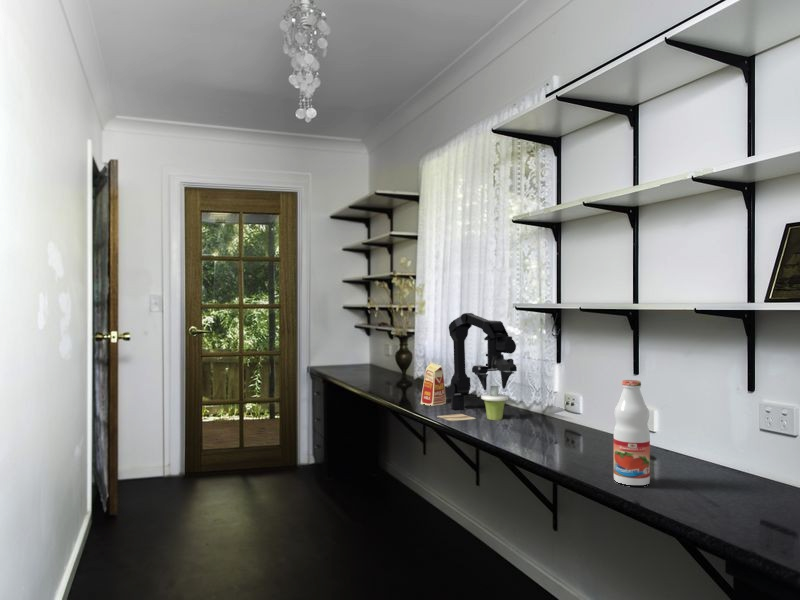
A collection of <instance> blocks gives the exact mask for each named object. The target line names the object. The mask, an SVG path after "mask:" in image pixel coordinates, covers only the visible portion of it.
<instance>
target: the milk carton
mask: <svg viewBox="0 0 800 600" xmlns="http://www.w3.org/2000/svg"><path fill="white" fill-rule="evenodd" d="M442 367H443V365H440V364H437V363H435V362H433V361H429V364H428V366H427V367H426V368H425V373H424V379H423V385H422V391H421V398H420V405H423V404H425V406H430V405H431V406H430V407H434V406H435V407H436V406H443V405H445V404H447V397H446V396H447V395H446V386H445V385H446V384H445V378H444V377H445V376H444V370H443V368H442Z"/></svg>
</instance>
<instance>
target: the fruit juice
mask: <svg viewBox="0 0 800 600" xmlns="http://www.w3.org/2000/svg"><path fill="white" fill-rule="evenodd" d="M621 387H622V391H621V394H620V398H619V400H618V401H617V404H616V405H615V407H614V409H613V410H614V411H613V414H614V415H613V416H614V420H615V424H614V427H613V481H614V480H615V481H616V482H618V483H622V484H626V485H646V484H650V482H651V481H650V480H651V435H650V433H651V432H650V429H649V426H648V424H649V423H648V422H649V420H650V411H649V408H648V406H647V405H646V403H645V400H644V398H643V394H642V392H641V388H642V382H641V381H640V380H634V379H624V380H622V381H621ZM615 481H614V482H615ZM616 482H615V483H616ZM618 483H617V484H618Z"/></svg>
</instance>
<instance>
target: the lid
mask: <svg viewBox="0 0 800 600" xmlns="http://www.w3.org/2000/svg"><path fill="white" fill-rule="evenodd" d="M480 400H483V401H484V400H486V401H505V400H506V401H508V400H509V396H508V395H507V394H504V393H503V394H502V393H499V386H498V385H490V393H484V394H481V395H480ZM506 401H505V402H506Z"/></svg>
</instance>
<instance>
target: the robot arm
mask: <svg viewBox="0 0 800 600" xmlns="http://www.w3.org/2000/svg"><path fill="white" fill-rule="evenodd" d="M472 326H474V327H476V328H479V329H481V330H482V332H483V333H485V335H486V336H485V337H484V341H487V353H485V357H487V363H485V365H481V364H477V365H473V366H472V368H471V373H474V375H476V376H477V378H478V379H479V382H480V384H481V386H482V388H483V390H484V391H487V388H488V387H487V386H488V385H487V379H488V378H487V377H488V376H489V374H488V372H495V371H496V372H497V371H499V372H500V379H501V380H500V381H501V386H502V387H501V388H502V389H503V390H505V389H506V386H507V384H508V381H509V378H510V377H511V376H512V374H514V373H515V372H517V371H518V369H517V365H516V364H515V363H514V359H513V358H507V359H505V358H504V354H509V355H510V354H513V353H514V352H515V351H516V350H517V349H516V348H517V344H516V342H515V340H514V339H513V336H511V335H510V336H509V333H508V331H507V329H506V327H505V326H504V322H503V321H499V320H490V319H487V318H484V317H483V316H482V317H481V316H479V315H476V314H474V313H473V312H466V313H465V312H464V313H462V314H461V315H459V317H456V318H455V319H454V320H452V321H450V324H448V332H449V336H450V338H451V340H452V341H453V370H454V371H453V372H454V374H453V375H452V377H451V378H450V385H449V387H448V388H447V390H445V393H446V396H447V397H450V407H448V409H450V410H453V411H463V410H467V408H466V407H465V405H466V403H465V397H468V396H469V394H470V390H471V377H469V376H468V375H467V373H466V350H465V349H466V348H465V347H466V345H465V344H466V343H465V341H466V340H467V337H468V335H469V330H470V328H472Z"/></svg>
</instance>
